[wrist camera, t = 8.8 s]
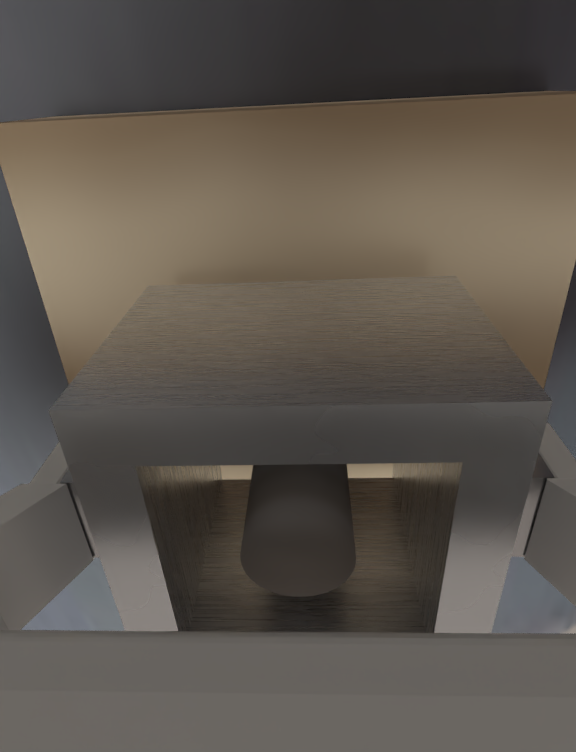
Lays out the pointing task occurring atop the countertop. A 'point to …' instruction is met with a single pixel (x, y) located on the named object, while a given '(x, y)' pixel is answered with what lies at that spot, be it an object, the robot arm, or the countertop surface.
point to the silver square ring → (305, 449)
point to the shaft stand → (301, 241)
